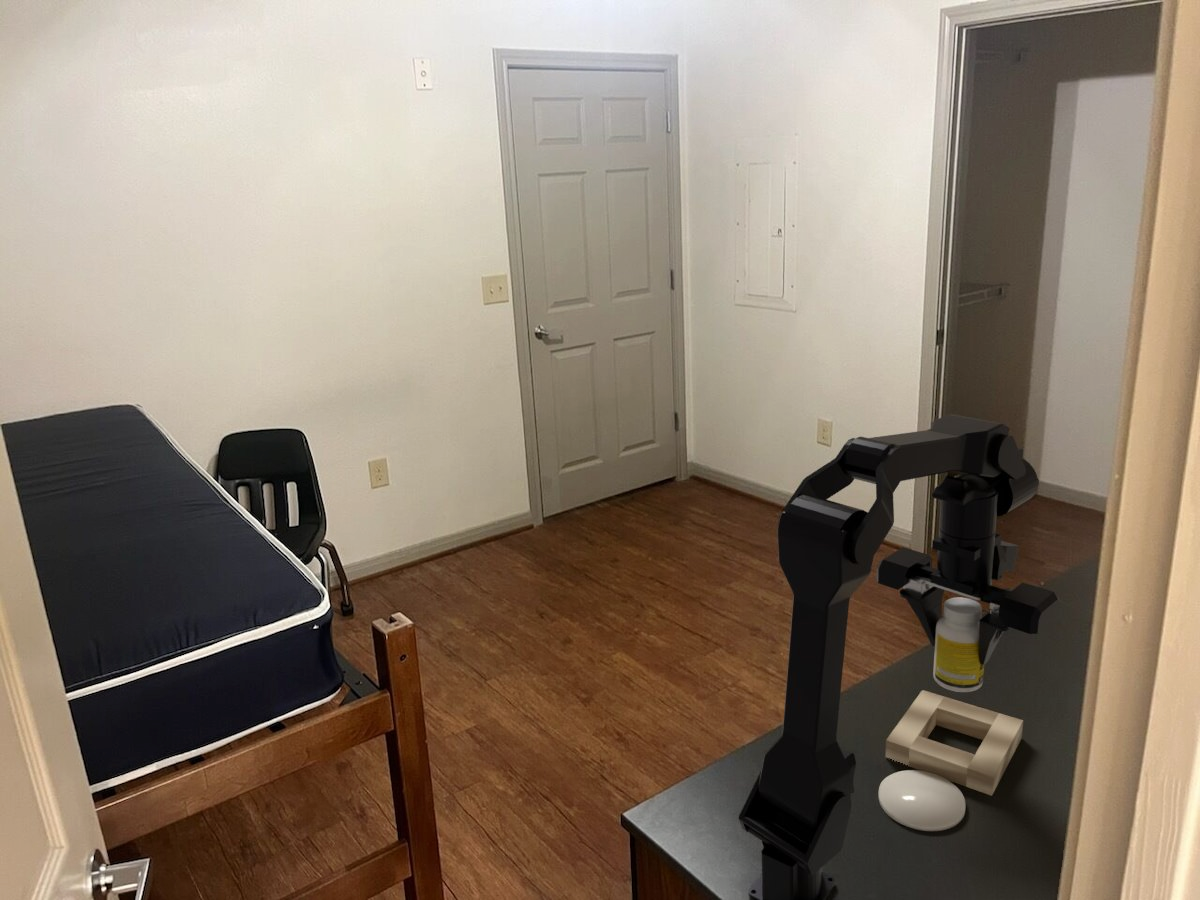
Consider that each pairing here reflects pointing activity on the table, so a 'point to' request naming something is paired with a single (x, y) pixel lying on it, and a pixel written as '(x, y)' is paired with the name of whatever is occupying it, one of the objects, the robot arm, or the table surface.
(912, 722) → the frame
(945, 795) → the ceramic coaster
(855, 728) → the table surface
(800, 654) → the robot arm
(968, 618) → the supplement bottle
